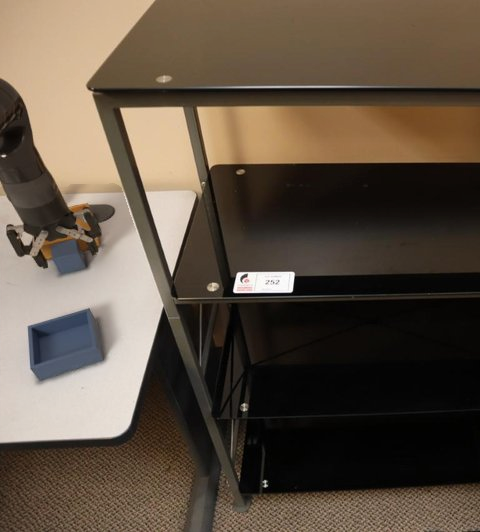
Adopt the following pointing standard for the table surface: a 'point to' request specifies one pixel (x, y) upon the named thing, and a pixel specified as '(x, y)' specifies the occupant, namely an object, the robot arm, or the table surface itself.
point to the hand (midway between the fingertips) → (70, 259)
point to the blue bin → (64, 344)
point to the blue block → (68, 256)
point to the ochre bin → (47, 245)
